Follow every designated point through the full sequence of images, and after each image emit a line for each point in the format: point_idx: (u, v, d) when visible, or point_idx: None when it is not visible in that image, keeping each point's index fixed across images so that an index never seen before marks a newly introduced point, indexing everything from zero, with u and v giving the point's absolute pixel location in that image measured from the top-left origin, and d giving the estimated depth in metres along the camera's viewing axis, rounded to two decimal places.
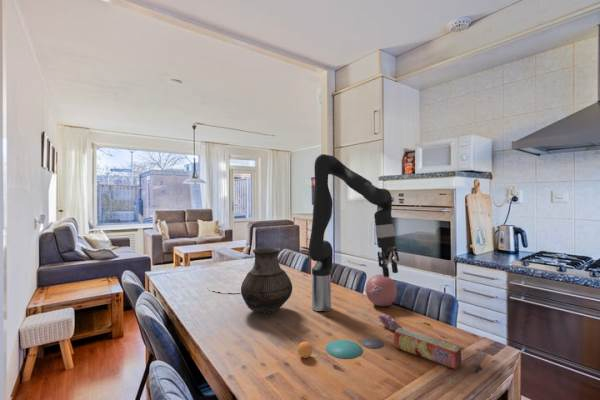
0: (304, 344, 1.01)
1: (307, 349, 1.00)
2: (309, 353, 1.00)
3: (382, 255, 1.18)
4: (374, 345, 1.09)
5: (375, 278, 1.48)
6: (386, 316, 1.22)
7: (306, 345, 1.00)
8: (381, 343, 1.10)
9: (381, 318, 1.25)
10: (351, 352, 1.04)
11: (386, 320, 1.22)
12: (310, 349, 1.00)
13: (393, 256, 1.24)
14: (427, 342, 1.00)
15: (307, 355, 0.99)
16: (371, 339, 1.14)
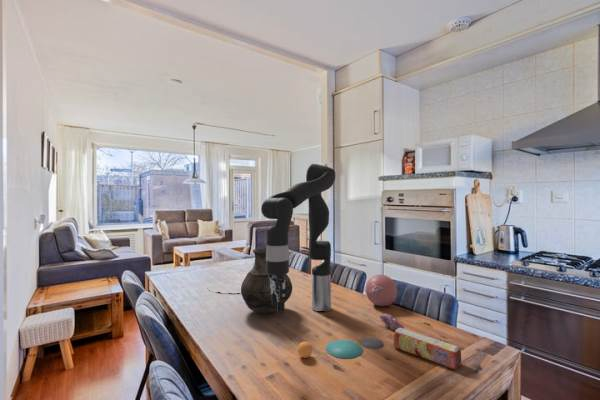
0: (304, 344, 1.01)
1: (307, 349, 1.00)
2: (309, 353, 1.00)
3: None
4: (374, 345, 1.09)
5: (375, 278, 1.48)
6: (388, 316, 1.23)
7: (306, 345, 1.00)
8: (381, 343, 1.10)
9: (383, 318, 1.25)
10: (351, 352, 1.04)
11: (388, 320, 1.22)
12: (310, 349, 1.00)
13: None
14: (427, 342, 0.99)
15: (307, 355, 0.99)
16: (371, 339, 1.14)
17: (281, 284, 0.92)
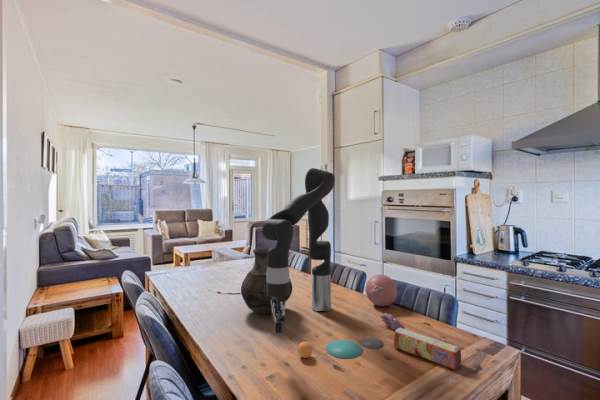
0: (304, 344, 1.01)
1: (307, 349, 1.00)
2: (309, 353, 1.00)
3: None
4: (374, 345, 1.09)
5: (375, 278, 1.48)
6: (388, 316, 1.23)
7: (306, 345, 1.00)
8: (381, 343, 1.10)
9: (383, 318, 1.25)
10: (351, 352, 1.04)
11: (388, 319, 1.23)
12: (310, 349, 1.00)
13: None
14: (427, 342, 0.99)
15: (307, 355, 0.99)
16: (371, 339, 1.14)
17: (281, 312, 0.92)
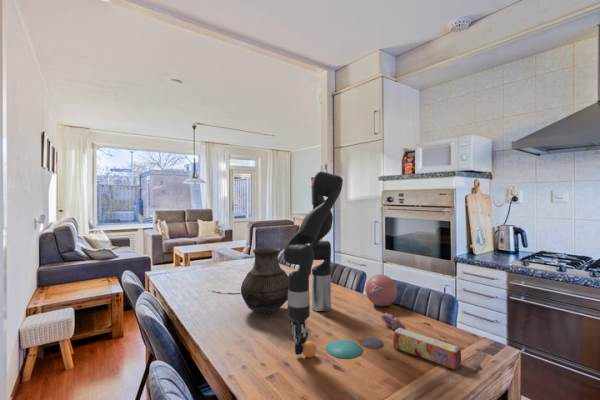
0: (311, 343, 1.01)
1: (313, 349, 1.00)
2: (313, 354, 1.00)
3: None
4: (374, 345, 1.09)
5: (375, 278, 1.48)
6: (389, 315, 1.23)
7: (313, 345, 1.01)
8: (381, 343, 1.10)
9: (384, 317, 1.25)
10: (351, 352, 1.04)
11: (389, 319, 1.23)
12: (315, 350, 1.01)
13: None
14: (427, 342, 0.99)
15: (310, 355, 1.00)
16: (371, 339, 1.14)
17: (302, 336, 0.96)
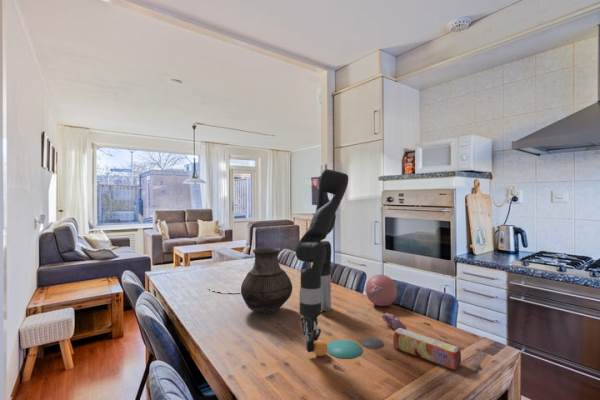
0: None
1: (325, 352, 1.01)
2: (321, 354, 1.01)
3: None
4: (374, 345, 1.09)
5: (375, 278, 1.48)
6: (390, 315, 1.23)
7: None
8: (381, 343, 1.10)
9: (385, 317, 1.26)
10: (351, 352, 1.04)
11: (390, 319, 1.23)
12: (324, 354, 1.01)
13: None
14: (427, 342, 0.99)
15: (320, 353, 1.00)
16: (371, 339, 1.14)
17: (315, 332, 0.96)
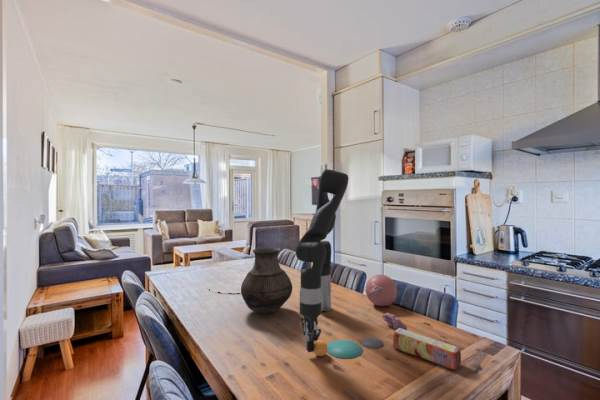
0: (327, 347, 1.02)
1: (325, 352, 1.01)
2: (321, 354, 1.00)
3: None
4: (374, 345, 1.09)
5: (375, 278, 1.48)
6: (390, 315, 1.23)
7: (327, 349, 1.02)
8: (381, 343, 1.10)
9: (385, 317, 1.26)
10: (351, 352, 1.04)
11: (390, 319, 1.23)
12: (324, 354, 1.01)
13: None
14: (426, 342, 0.99)
15: (320, 353, 1.00)
16: (371, 339, 1.14)
17: (315, 332, 0.96)
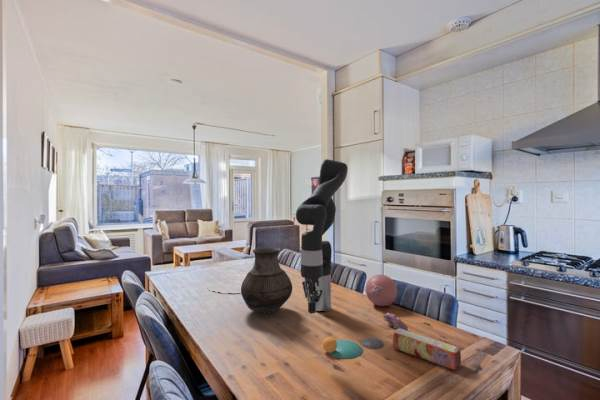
0: (333, 351, 1.04)
1: (332, 349, 1.03)
2: (330, 345, 1.03)
3: None
4: (374, 345, 1.09)
5: (375, 278, 1.48)
6: (391, 315, 1.24)
7: (332, 351, 1.03)
8: (381, 343, 1.10)
9: (386, 317, 1.26)
10: (351, 352, 1.04)
11: (391, 319, 1.23)
12: (329, 348, 1.02)
13: None
14: (426, 343, 0.99)
15: (332, 343, 1.03)
16: (371, 339, 1.14)
17: (316, 293, 0.97)
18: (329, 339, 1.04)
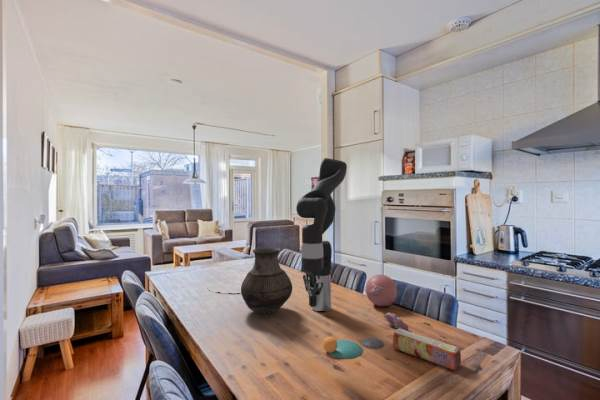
0: (333, 351, 1.04)
1: (333, 348, 1.03)
2: (331, 344, 1.03)
3: None
4: (374, 345, 1.09)
5: (375, 278, 1.48)
6: (392, 315, 1.24)
7: (332, 351, 1.03)
8: (381, 343, 1.10)
9: (387, 317, 1.26)
10: (351, 352, 1.04)
11: (392, 319, 1.23)
12: (329, 348, 1.03)
13: None
14: (426, 343, 0.99)
15: (333, 342, 1.03)
16: (371, 339, 1.14)
17: (317, 285, 0.97)
18: (330, 339, 1.04)
